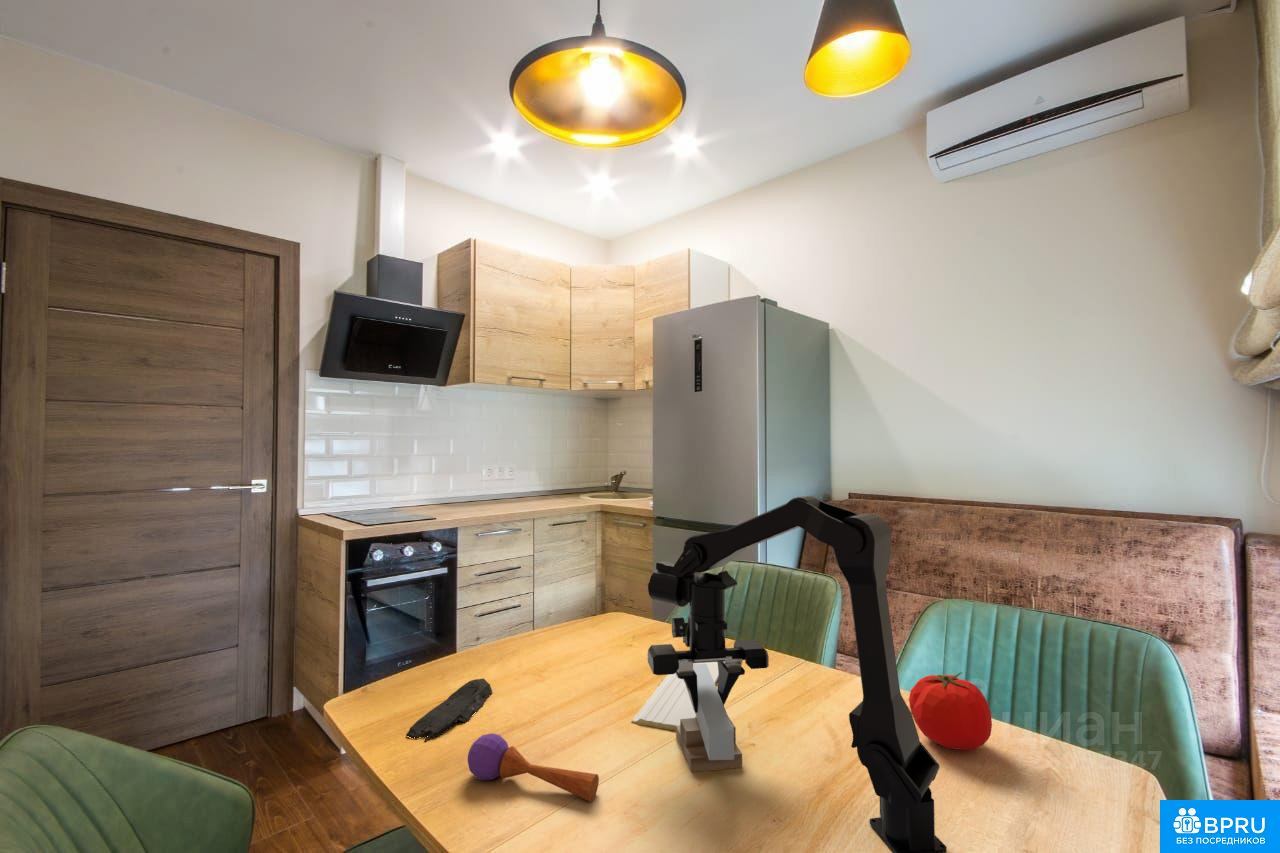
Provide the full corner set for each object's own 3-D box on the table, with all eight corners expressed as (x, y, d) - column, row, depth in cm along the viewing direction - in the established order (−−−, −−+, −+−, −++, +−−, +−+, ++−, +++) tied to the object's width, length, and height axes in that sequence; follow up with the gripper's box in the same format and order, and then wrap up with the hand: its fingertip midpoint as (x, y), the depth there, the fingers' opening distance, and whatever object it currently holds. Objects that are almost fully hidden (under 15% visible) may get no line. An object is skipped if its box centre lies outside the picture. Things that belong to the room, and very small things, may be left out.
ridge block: (742, 767, 85) (742, 737, 85) (691, 772, 83) (691, 741, 84) (722, 734, 95) (722, 707, 95) (676, 737, 93) (676, 710, 93)
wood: (441, 747, 91) (441, 728, 91) (402, 741, 93) (402, 722, 93) (507, 690, 112) (507, 675, 112) (474, 686, 114) (474, 671, 114)
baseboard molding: (623, 724, 99) (689, 737, 95) (624, 707, 99) (689, 719, 95) (674, 661, 128) (726, 669, 124) (674, 648, 128) (726, 655, 124)
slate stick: (734, 759, 77) (733, 730, 78) (709, 760, 77) (709, 730, 77) (706, 686, 101) (706, 663, 101) (687, 686, 101) (687, 664, 101)
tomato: (994, 739, 93) (992, 672, 93) (991, 773, 83) (989, 697, 84) (915, 720, 100) (913, 656, 100) (904, 748, 90) (902, 678, 90)
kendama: (584, 785, 74) (458, 747, 80) (584, 824, 75) (460, 783, 81) (602, 753, 79) (482, 720, 86) (602, 790, 80) (484, 755, 87)
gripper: (745, 596, 99) (745, 685, 99) (642, 601, 96) (642, 693, 96) (769, 614, 88) (770, 715, 88) (654, 620, 85) (654, 724, 85)
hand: (707, 710), depth 89 cm, fingers closed on slate stick, 4 cm apart
